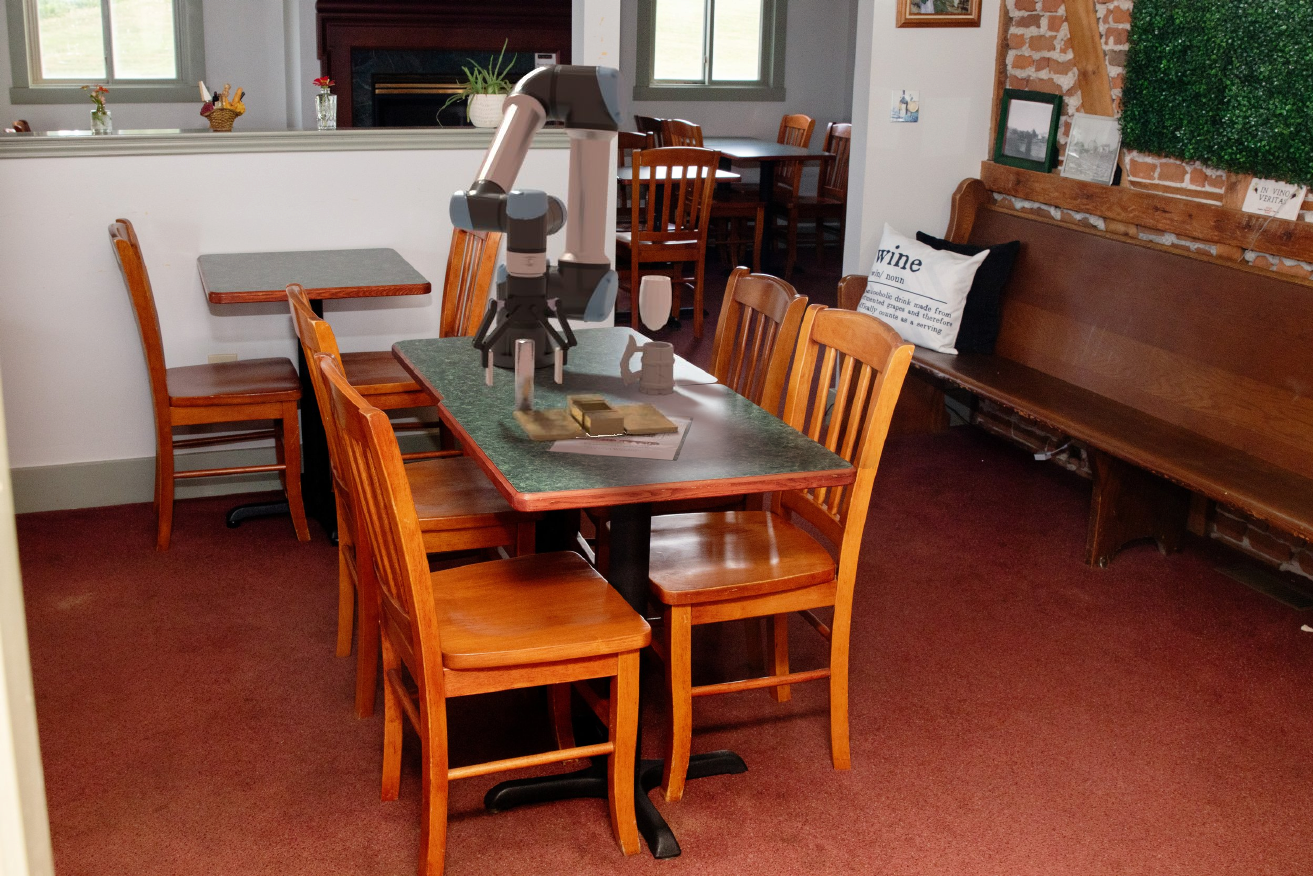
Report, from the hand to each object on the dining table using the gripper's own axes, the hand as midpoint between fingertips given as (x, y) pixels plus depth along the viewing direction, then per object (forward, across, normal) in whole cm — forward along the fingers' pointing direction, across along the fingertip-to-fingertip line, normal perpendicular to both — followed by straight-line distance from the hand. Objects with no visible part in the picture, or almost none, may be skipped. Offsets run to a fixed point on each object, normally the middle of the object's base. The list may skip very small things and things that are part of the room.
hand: (524, 383), depth 239 cm
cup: (+5, +36, +28) cm, 46 cm away
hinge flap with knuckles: (+6, +17, -11) cm, 21 cm away
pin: (+6, 0, 0) cm, 6 cm away
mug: (+6, +29, +11) cm, 32 cm away
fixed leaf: (+6, +6, -11) cm, 14 cm away
